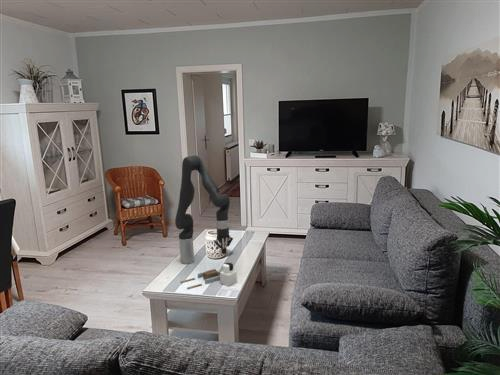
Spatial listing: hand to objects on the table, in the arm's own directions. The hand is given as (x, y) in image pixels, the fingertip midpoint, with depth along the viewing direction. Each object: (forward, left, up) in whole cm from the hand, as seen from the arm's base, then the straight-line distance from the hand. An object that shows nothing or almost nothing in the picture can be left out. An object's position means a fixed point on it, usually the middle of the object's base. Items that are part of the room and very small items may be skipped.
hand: (224, 253), depth 236 cm
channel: (0, -10, -14) cm, 17 cm away
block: (0, -10, -14) cm, 17 cm away
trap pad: (0, -2, -14) cm, 14 cm away
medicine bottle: (+12, -4, -14) cm, 19 cm away
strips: (0, -23, -14) cm, 27 cm away
